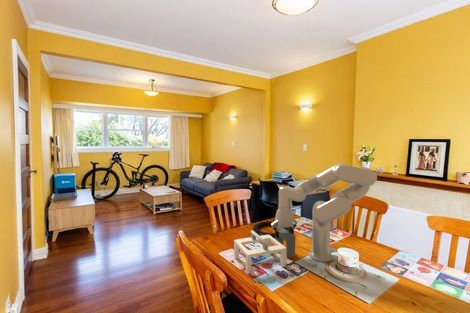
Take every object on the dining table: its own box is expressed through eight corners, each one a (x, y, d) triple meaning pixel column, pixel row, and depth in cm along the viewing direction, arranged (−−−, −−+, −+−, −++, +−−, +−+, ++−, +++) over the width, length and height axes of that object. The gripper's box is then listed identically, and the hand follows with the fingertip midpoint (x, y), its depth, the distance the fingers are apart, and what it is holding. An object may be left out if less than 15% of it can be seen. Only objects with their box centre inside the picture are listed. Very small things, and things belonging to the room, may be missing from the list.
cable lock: (296, 224, 182) (284, 238, 156) (296, 229, 183) (284, 244, 156) (261, 218, 195) (245, 230, 169) (261, 223, 196) (245, 236, 169)
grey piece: (274, 247, 151) (275, 228, 150) (281, 246, 153) (282, 227, 152) (287, 258, 138) (287, 237, 137) (295, 256, 139) (295, 235, 139)
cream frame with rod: (268, 250, 147) (269, 227, 145) (286, 266, 129) (286, 240, 128) (234, 257, 139) (234, 232, 138) (247, 274, 121) (247, 246, 120)
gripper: (294, 204, 150) (293, 232, 151) (268, 207, 144) (268, 235, 145) (301, 208, 143) (300, 237, 144) (275, 211, 137) (274, 241, 138)
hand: (284, 236), depth 145 cm, fingers open, 9 cm apart
